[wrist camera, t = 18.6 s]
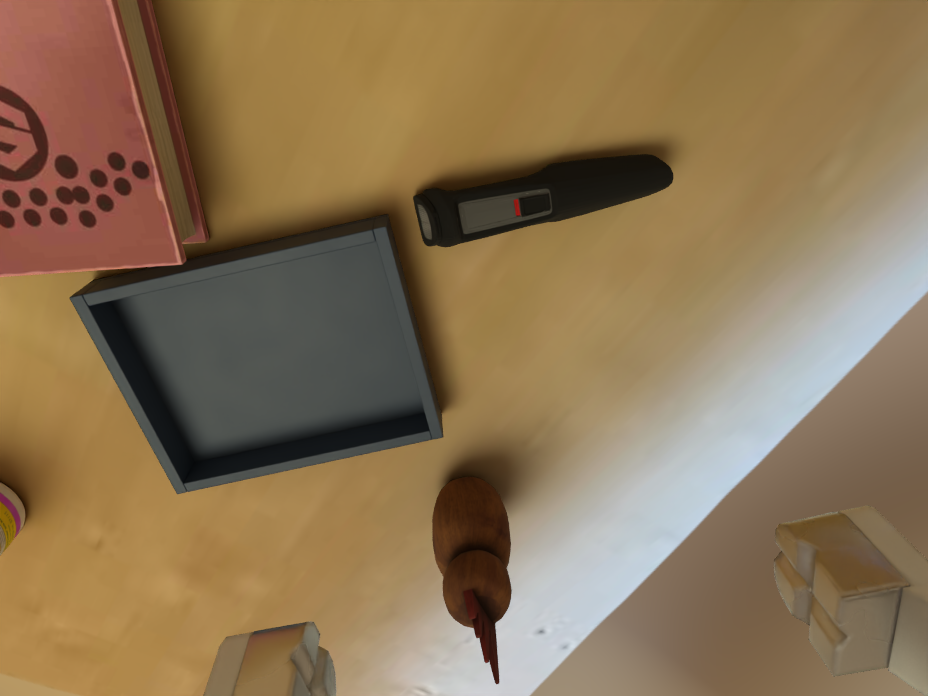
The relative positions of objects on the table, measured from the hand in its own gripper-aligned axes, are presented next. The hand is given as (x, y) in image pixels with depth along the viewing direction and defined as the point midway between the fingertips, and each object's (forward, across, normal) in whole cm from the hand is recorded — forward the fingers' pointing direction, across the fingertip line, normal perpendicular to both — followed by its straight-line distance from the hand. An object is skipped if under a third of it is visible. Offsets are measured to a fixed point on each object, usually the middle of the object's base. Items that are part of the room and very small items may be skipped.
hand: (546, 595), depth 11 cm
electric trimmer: (+31, -5, +1) cm, 32 cm away
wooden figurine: (+31, +4, +24) cm, 40 cm away
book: (+31, +22, -9) cm, 39 cm away
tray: (+31, +14, +8) cm, 35 cm away
